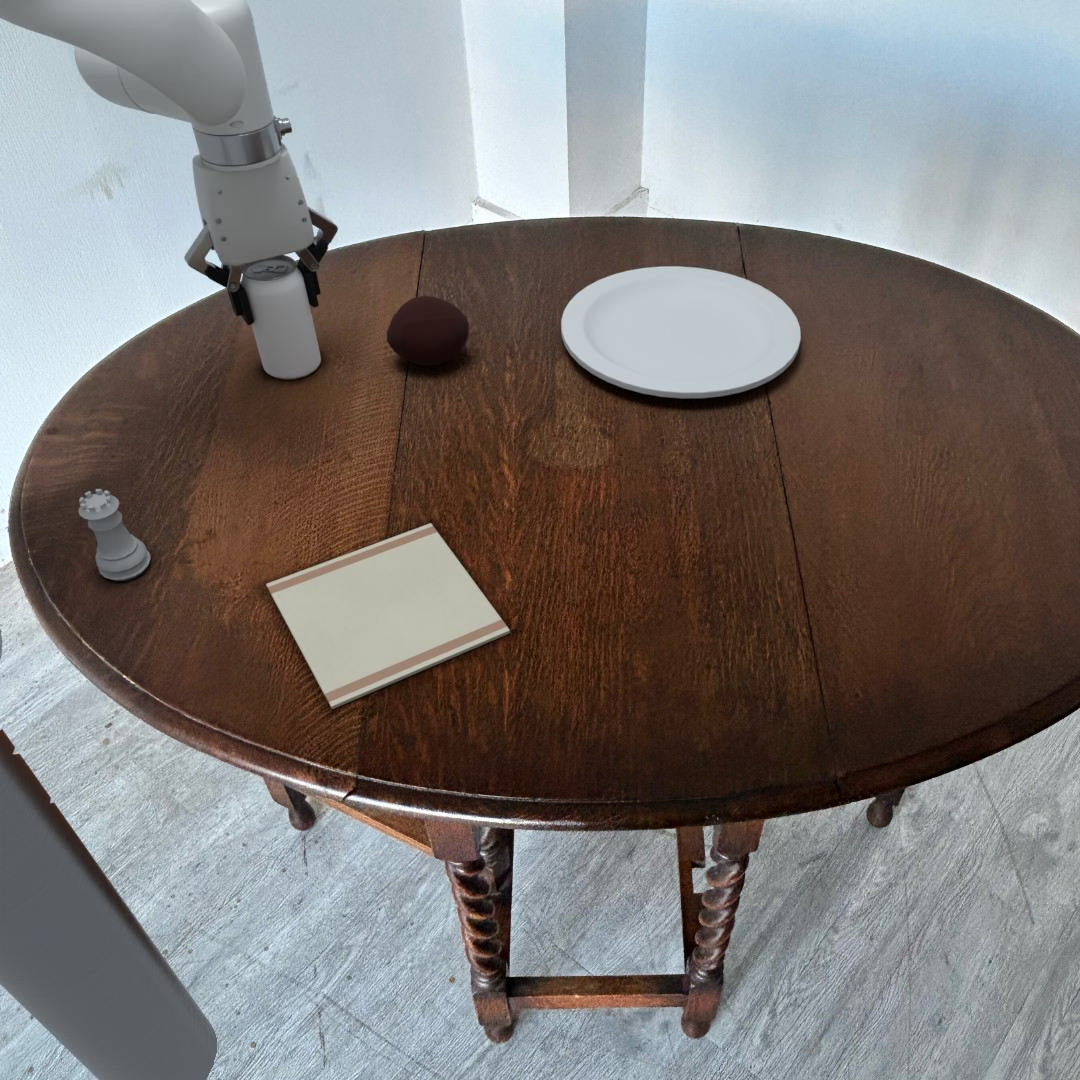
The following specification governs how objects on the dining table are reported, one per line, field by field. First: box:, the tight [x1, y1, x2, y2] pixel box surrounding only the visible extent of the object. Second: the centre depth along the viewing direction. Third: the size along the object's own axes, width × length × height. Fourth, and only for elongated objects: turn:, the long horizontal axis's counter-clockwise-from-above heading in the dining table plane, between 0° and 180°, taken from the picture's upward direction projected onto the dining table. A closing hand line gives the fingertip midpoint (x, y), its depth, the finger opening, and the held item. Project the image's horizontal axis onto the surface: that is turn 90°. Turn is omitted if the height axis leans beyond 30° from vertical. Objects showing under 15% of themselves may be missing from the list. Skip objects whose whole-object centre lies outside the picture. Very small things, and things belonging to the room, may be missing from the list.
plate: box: [560, 265, 802, 399], centre depth 116 cm, size 28×28×2 cm
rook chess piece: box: [77, 488, 152, 582], centre depth 86 cm, size 4×4×8 cm
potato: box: [386, 295, 470, 367], centre depth 111 cm, size 8×9×8 cm
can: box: [240, 254, 322, 381], centre depth 108 cm, size 6×6×12 cm
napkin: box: [265, 522, 511, 710], centre depth 86 cm, size 16×16×1 cm
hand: (279, 309), depth 107 cm, fingers closed on can, 6 cm apart
